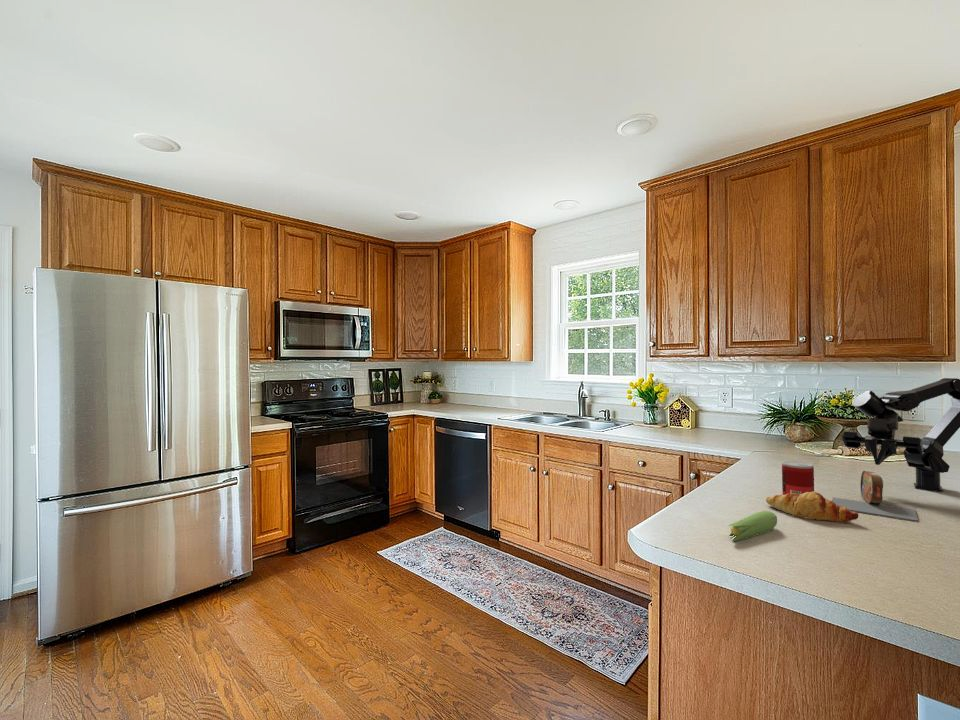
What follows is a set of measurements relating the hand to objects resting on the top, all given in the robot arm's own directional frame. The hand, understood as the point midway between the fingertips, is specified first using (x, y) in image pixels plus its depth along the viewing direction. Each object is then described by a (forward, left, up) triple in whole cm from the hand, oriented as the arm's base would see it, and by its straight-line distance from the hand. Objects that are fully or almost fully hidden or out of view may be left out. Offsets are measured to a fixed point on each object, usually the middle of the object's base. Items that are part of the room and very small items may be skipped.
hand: (876, 464), depth 138 cm
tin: (+8, -1, -10) cm, 13 cm away
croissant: (+32, -14, -10) cm, 37 cm away
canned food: (+18, -18, -10) cm, 28 cm away
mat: (+16, -1, -10) cm, 19 cm away
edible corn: (+59, -24, -11) cm, 64 cm away
